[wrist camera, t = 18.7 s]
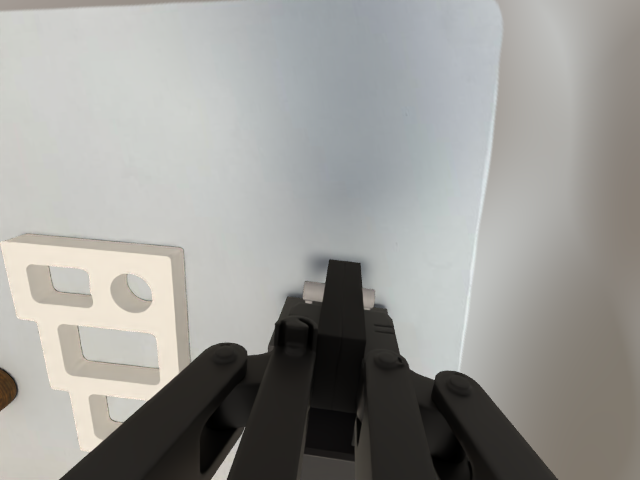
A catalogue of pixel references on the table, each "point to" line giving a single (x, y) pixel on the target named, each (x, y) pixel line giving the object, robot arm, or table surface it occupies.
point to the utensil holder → (6, 389)
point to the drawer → (324, 424)
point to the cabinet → (327, 465)
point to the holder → (100, 318)
